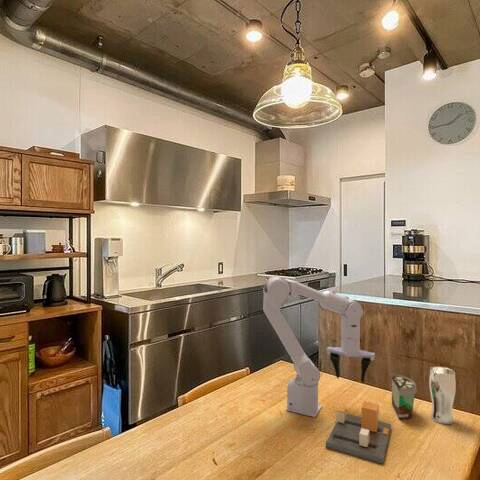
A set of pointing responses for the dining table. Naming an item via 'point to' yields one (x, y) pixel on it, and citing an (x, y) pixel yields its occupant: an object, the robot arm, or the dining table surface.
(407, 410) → the food container
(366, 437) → the block
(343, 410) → the block
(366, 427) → the block
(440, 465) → the dining table surface
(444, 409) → the beer glass
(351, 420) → the panel
